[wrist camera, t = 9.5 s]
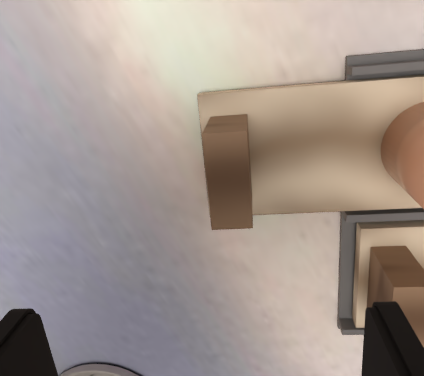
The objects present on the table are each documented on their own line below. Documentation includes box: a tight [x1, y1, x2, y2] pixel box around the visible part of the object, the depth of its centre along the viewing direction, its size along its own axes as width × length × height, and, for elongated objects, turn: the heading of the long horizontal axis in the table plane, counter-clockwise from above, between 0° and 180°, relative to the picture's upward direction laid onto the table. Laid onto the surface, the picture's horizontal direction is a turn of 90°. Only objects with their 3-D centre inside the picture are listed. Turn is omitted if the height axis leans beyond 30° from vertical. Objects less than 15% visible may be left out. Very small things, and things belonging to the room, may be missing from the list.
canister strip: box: [197, 74, 424, 230], centre depth 24 cm, size 9×22×6 cm, turn 95°
